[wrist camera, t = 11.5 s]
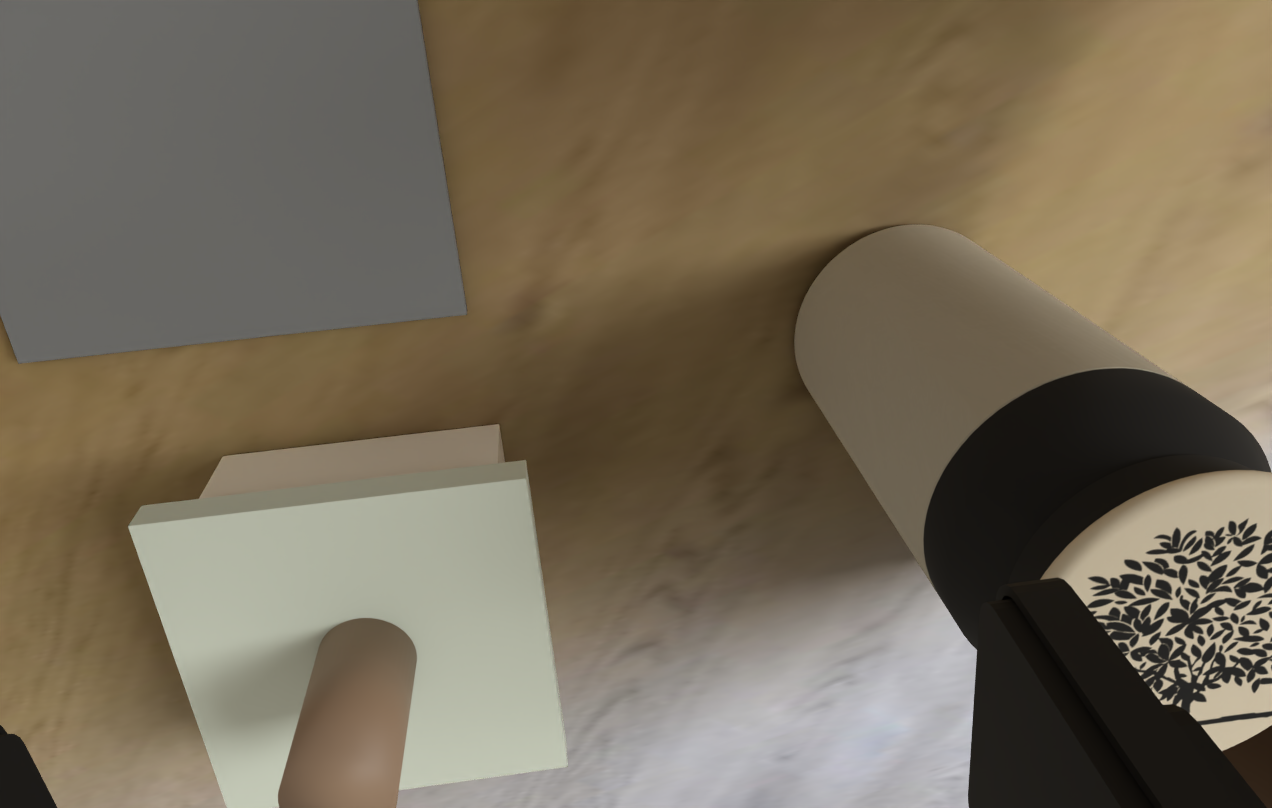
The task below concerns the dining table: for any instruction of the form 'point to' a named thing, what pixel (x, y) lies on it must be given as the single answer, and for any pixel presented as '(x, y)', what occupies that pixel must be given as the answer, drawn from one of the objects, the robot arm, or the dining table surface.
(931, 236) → the travel mug
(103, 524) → the dining table surface
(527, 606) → the lid
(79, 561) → the dining table surface
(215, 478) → the white open storage bin
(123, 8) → the mat
